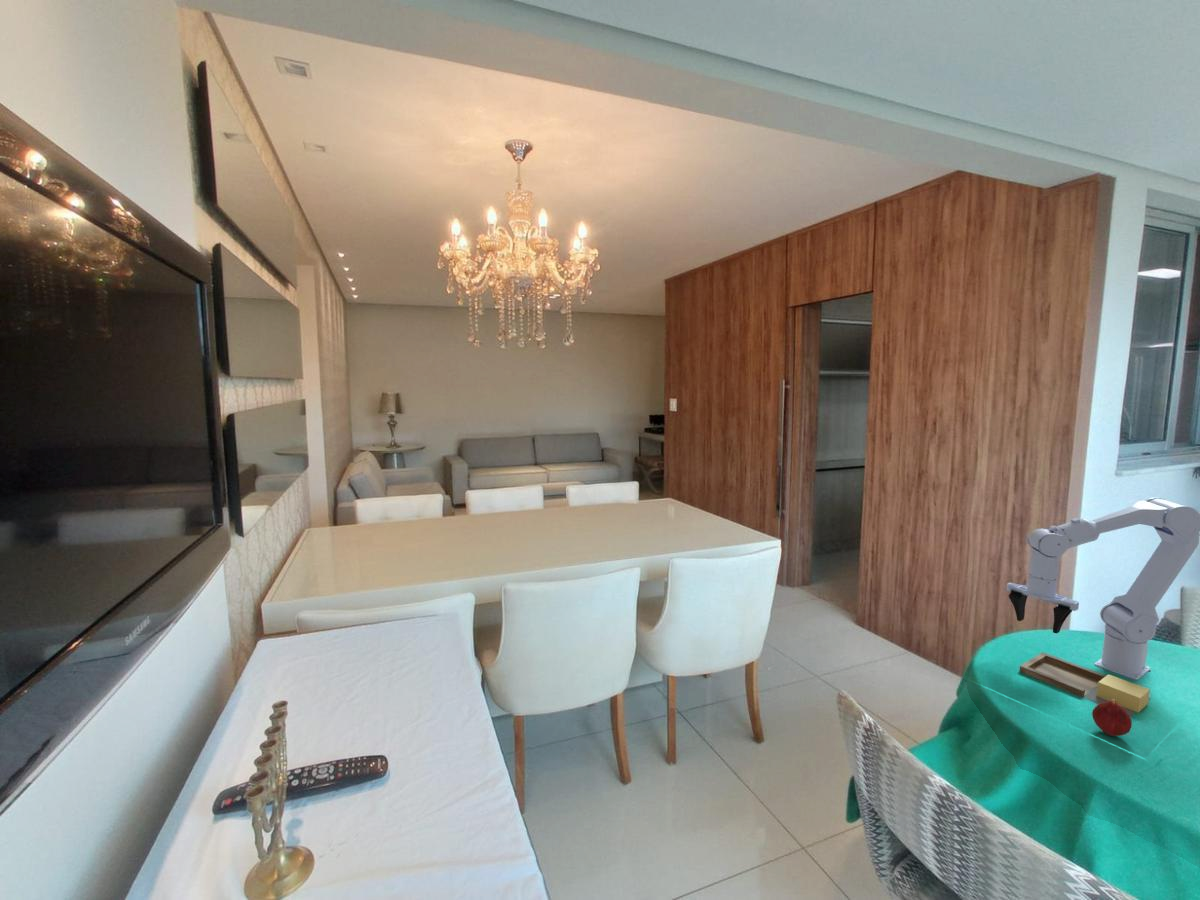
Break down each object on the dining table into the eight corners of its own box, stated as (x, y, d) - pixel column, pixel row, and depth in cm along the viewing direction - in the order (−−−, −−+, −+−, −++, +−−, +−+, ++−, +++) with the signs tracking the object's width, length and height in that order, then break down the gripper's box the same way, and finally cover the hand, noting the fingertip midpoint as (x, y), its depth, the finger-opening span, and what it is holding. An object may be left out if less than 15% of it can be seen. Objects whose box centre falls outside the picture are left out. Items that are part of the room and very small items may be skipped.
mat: (1104, 681, 125) (1104, 680, 125) (1150, 699, 118) (1150, 698, 118) (1082, 698, 119) (1082, 697, 119) (1130, 717, 112) (1130, 716, 112)
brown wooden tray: (1042, 658, 136) (1042, 652, 136) (1103, 681, 125) (1104, 674, 125) (1019, 672, 130) (1019, 665, 130) (1082, 698, 119) (1082, 691, 119)
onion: (1137, 746, 104) (1142, 710, 103) (1103, 743, 105) (1108, 707, 104) (1115, 727, 110) (1119, 692, 108) (1083, 724, 111) (1087, 690, 110)
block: (1106, 687, 123) (1108, 674, 122) (1148, 703, 116) (1150, 689, 116) (1096, 695, 120) (1098, 682, 119) (1138, 712, 114) (1140, 698, 113)
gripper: (1002, 570, 137) (998, 618, 139) (1072, 589, 124) (1066, 642, 126) (1015, 565, 140) (1010, 612, 142) (1084, 583, 127) (1078, 634, 129)
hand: (1037, 625), depth 134 cm, fingers open, 7 cm apart
